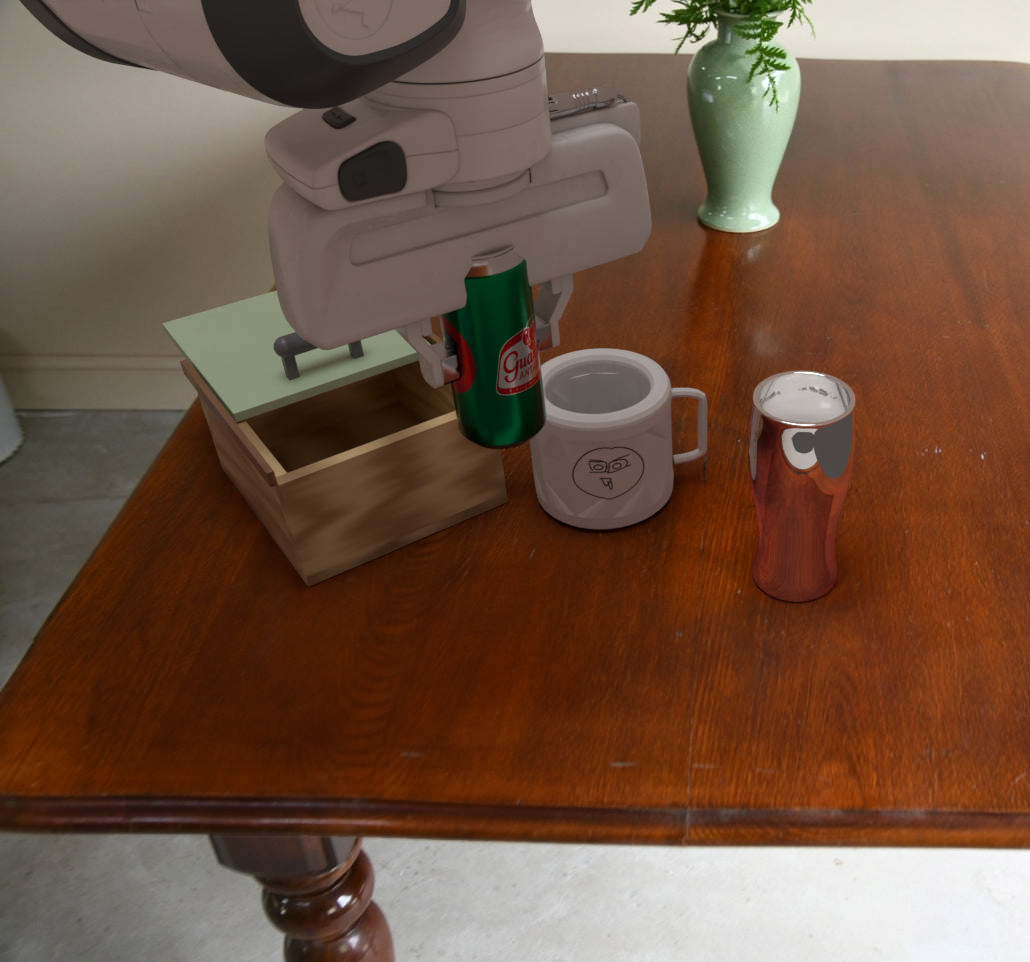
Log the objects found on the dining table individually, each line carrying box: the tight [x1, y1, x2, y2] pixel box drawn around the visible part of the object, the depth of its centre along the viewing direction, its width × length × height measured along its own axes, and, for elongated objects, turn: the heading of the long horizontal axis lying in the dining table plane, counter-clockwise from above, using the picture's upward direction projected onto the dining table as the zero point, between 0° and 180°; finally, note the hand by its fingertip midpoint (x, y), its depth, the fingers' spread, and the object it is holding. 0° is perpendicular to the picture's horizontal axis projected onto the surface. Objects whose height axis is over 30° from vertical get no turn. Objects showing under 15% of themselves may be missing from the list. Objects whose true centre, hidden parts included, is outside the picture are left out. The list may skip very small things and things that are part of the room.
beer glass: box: [748, 370, 857, 603], centre depth 76 cm, size 7×7×15 cm
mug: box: [529, 347, 708, 531], centre depth 86 cm, size 14×11×10 cm
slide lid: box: [161, 289, 431, 422], centre depth 88 cm, size 15×17×4 cm
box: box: [179, 332, 509, 588], centre depth 86 cm, size 17×18×10 cm
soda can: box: [438, 244, 546, 450], centre depth 62 cm, size 5×5×12 cm
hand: (492, 363), depth 63 cm, fingers closed on soda can, 5 cm apart
